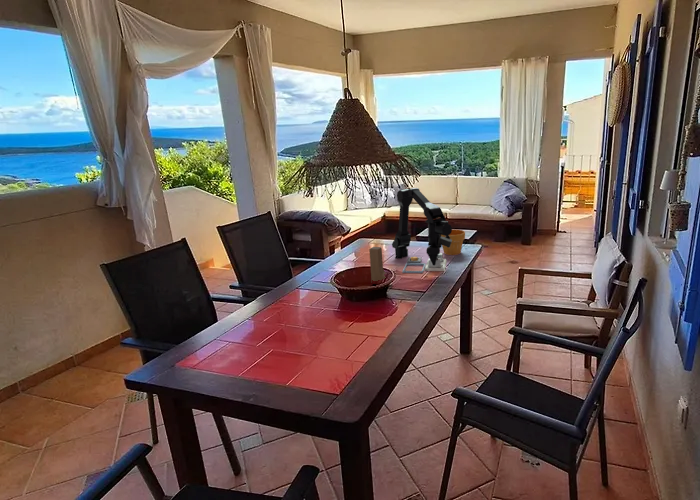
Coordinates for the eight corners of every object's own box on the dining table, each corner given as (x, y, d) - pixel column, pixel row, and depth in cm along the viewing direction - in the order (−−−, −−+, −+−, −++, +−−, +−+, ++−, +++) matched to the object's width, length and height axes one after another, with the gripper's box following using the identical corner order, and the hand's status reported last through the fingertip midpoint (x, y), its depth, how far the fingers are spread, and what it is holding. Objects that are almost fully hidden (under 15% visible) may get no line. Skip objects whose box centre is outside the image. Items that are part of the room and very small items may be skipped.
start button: (410, 263, 230) (410, 258, 229) (411, 261, 233) (411, 256, 233) (417, 263, 229) (417, 258, 228) (418, 261, 232) (417, 256, 232)
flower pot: (459, 259, 233) (458, 236, 230) (435, 256, 242) (434, 234, 238) (469, 252, 244) (469, 230, 240) (446, 250, 252) (445, 228, 249)
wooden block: (392, 284, 204) (390, 247, 199) (388, 287, 200) (386, 250, 195) (375, 282, 208) (373, 246, 204) (371, 285, 205) (368, 248, 200)
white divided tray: (424, 272, 216) (424, 268, 216) (428, 262, 232) (427, 258, 231) (444, 272, 213) (444, 268, 213) (446, 262, 229) (446, 258, 228)
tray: (402, 274, 216) (402, 271, 215) (406, 266, 228) (406, 263, 227) (422, 274, 213) (422, 271, 212) (425, 266, 225) (425, 263, 225)
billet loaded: (430, 263, 226) (430, 254, 224) (431, 261, 229) (431, 252, 228) (442, 264, 224) (442, 254, 223) (442, 261, 228) (442, 252, 226)
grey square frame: (407, 265, 229) (406, 261, 229) (408, 261, 236) (408, 257, 235) (420, 265, 227) (420, 261, 227) (421, 261, 234) (421, 257, 233)
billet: (428, 269, 217) (428, 260, 216) (429, 267, 221) (429, 257, 219) (440, 269, 215) (440, 260, 214) (441, 267, 219) (441, 257, 218)
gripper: (449, 236, 202) (450, 268, 206) (451, 227, 219) (452, 257, 223) (425, 237, 205) (426, 268, 209) (429, 228, 222) (430, 257, 227)
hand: (435, 262), depth 217 cm, fingers open, 9 cm apart
